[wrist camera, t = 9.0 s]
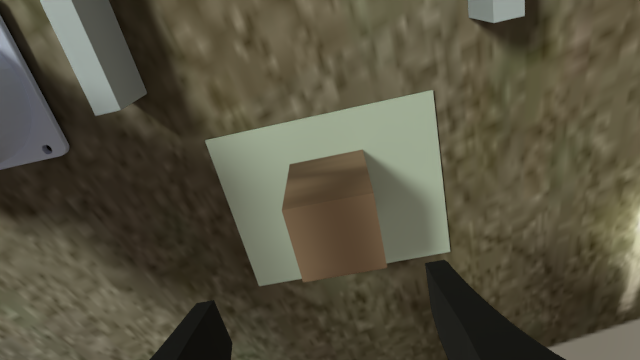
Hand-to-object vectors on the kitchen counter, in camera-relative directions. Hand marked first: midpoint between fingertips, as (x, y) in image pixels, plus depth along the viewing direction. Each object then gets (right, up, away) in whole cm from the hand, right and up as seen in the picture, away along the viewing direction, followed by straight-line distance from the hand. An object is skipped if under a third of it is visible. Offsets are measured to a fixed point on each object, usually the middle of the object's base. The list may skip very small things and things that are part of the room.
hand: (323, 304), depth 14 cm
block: (+1, +4, +9) cm, 10 cm away
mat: (+1, +3, +9) cm, 10 cm away
